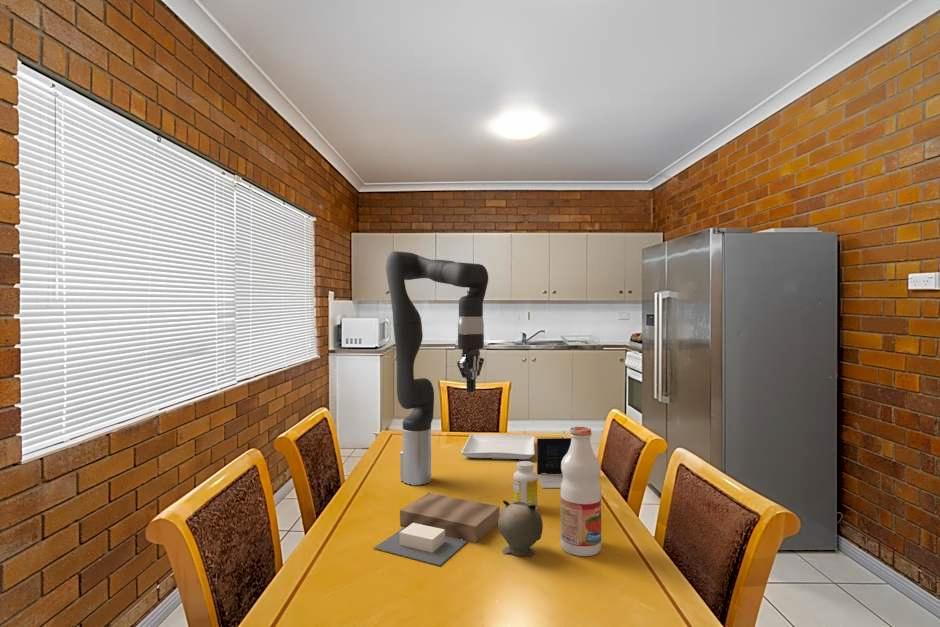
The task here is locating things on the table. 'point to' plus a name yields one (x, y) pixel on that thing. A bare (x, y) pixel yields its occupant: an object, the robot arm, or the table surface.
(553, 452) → the laptop
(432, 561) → the mat
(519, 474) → the supplement bottle
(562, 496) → the fruit juice
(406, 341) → the robot arm
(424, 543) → the thick cream block
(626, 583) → the table surface
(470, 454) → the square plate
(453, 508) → the brown wooden block
